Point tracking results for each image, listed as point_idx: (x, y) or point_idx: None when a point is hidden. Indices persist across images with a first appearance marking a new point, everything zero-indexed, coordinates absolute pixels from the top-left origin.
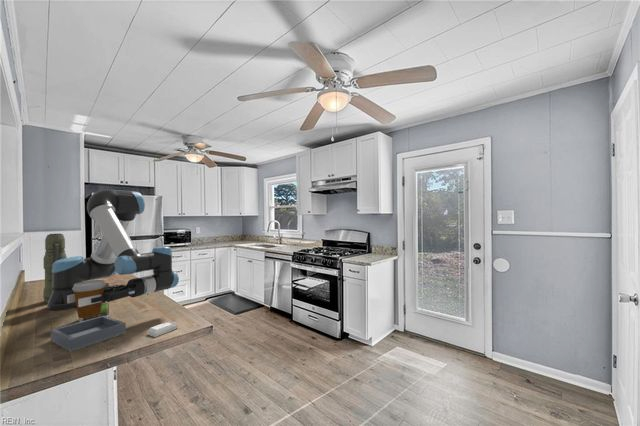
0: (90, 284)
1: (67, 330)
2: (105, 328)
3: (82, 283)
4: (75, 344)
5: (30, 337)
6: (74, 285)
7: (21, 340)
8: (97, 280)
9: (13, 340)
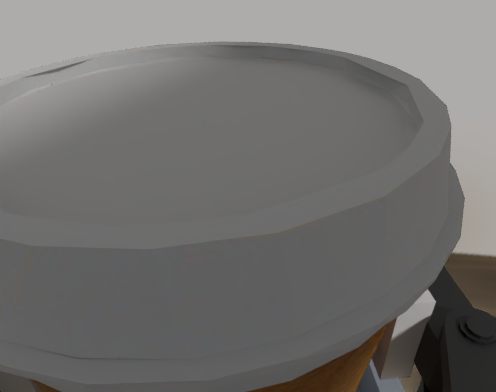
0: (91, 107)
1: (368, 388)
2: None
3: (321, 85)
4: None
5: (489, 301)
6: (210, 45)
7: (462, 277)
8: (356, 185)
9: (484, 262)
